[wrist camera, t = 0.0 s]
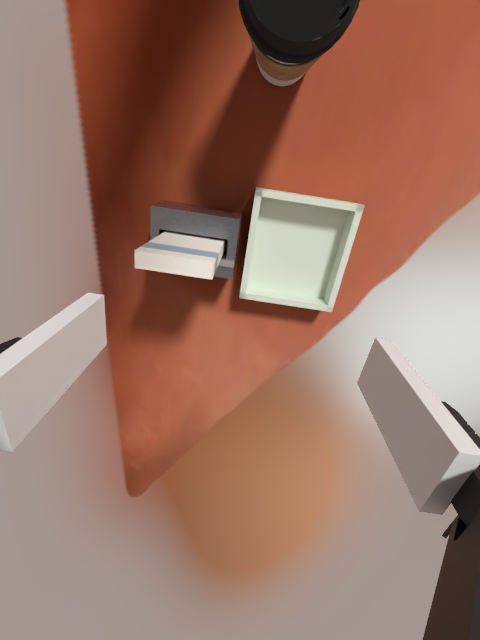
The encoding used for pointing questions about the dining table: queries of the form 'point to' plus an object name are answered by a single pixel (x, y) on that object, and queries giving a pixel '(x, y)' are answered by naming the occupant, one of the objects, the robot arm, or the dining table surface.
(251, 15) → the coffee cup
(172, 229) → the dispenser
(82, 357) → the robot arm
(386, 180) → the dining table surface
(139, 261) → the white striped flat box
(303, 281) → the tray
